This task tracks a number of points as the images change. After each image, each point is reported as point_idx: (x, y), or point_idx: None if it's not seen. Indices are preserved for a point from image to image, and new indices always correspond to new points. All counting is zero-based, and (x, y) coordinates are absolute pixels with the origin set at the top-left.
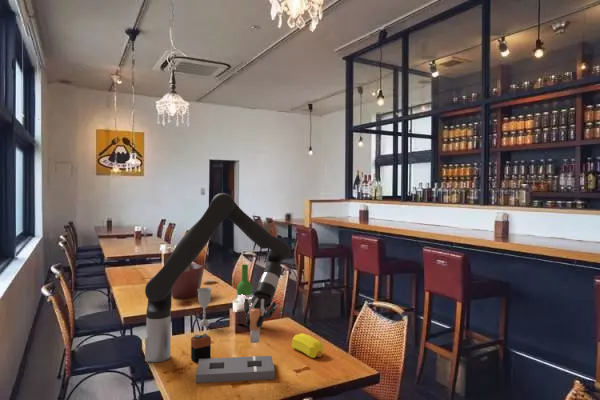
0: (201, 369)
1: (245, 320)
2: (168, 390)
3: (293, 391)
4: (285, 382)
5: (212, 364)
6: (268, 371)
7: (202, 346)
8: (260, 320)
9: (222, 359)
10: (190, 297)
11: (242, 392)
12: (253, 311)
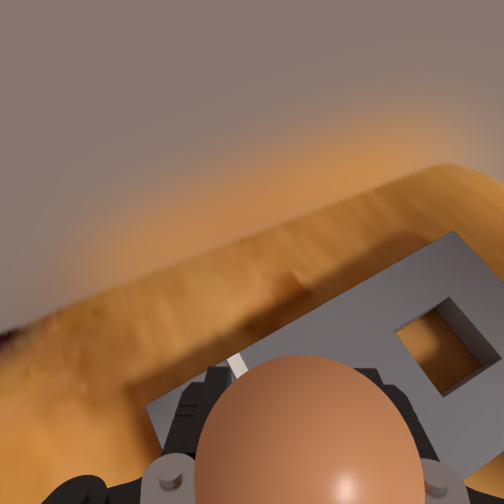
0: (474, 278)
1: (406, 401)
2: (476, 175)
3: (53, 333)
4: (100, 396)
5: (487, 366)
6: (174, 389)
7: None
8: (192, 418)
9: (481, 429)
10: None
11: (236, 254)
12: (285, 358)
